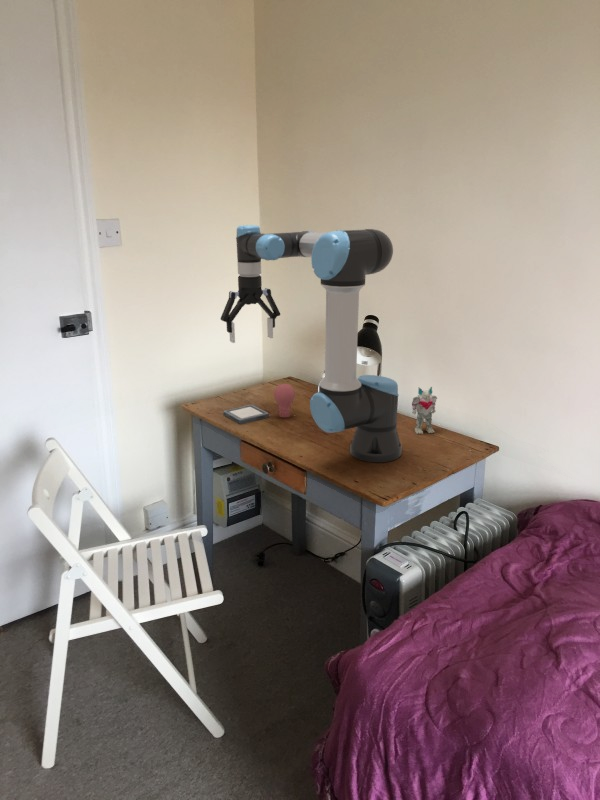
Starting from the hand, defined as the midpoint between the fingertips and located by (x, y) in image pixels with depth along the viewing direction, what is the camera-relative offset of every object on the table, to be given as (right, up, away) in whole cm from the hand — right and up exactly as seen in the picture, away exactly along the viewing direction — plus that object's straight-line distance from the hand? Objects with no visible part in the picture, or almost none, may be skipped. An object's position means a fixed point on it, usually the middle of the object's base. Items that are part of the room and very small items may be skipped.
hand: (251, 339), depth 216 cm
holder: (-3, -26, +8) cm, 27 cm away
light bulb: (+11, -26, +7) cm, 29 cm away
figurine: (+56, -30, -6) cm, 64 cm away
